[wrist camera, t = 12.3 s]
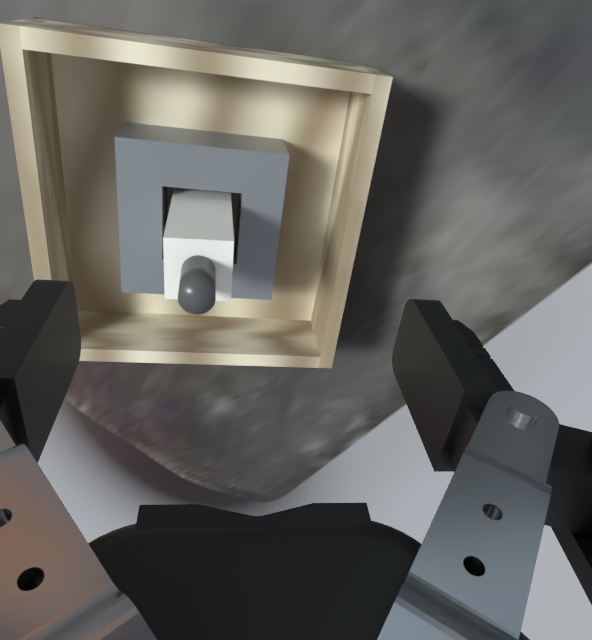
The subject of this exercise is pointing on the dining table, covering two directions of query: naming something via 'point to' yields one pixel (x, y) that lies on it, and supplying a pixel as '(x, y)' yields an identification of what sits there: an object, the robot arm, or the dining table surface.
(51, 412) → the robot arm
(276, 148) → the block
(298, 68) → the walled box
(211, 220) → the plug
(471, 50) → the dining table surface
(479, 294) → the dining table surface
